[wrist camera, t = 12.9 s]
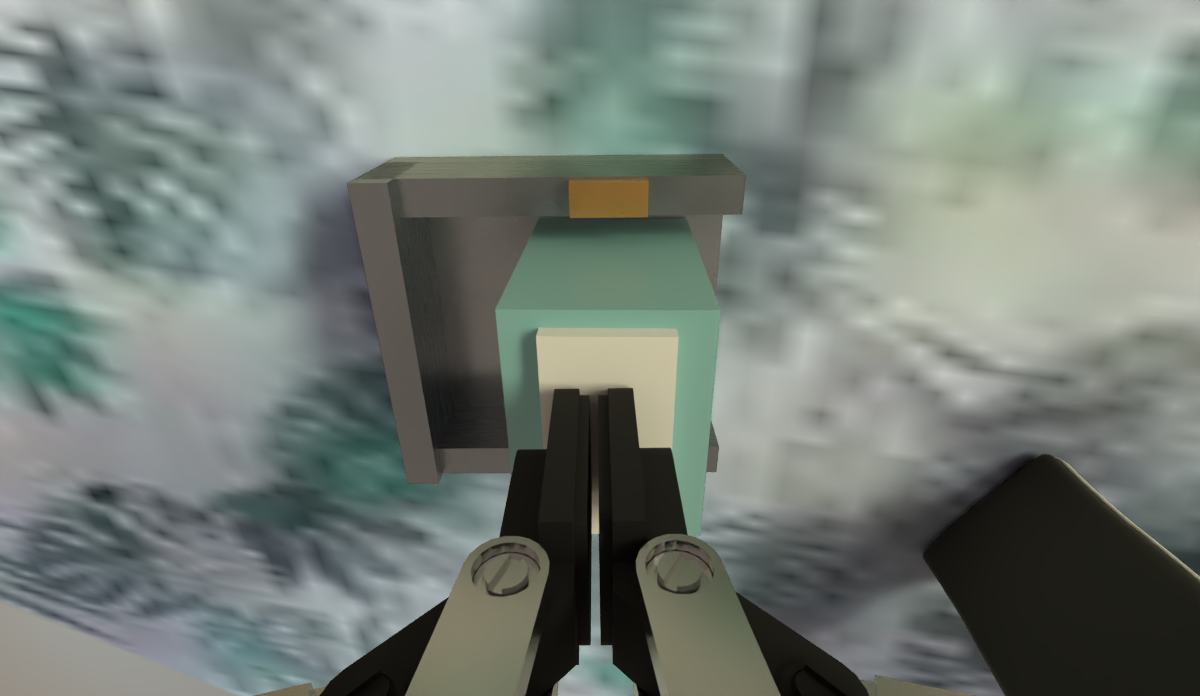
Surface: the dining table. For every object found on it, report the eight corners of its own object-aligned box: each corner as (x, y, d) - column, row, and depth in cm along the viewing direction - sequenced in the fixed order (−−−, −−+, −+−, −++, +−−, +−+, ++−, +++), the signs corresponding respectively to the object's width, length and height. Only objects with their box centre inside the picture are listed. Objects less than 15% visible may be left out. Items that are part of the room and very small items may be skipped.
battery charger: (971, 585, 26) (1203, 925, 16) (910, 552, 25) (1115, 890, 15) (1107, 482, 24) (1487, 811, 13) (1043, 440, 23) (1400, 760, 13)
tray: (722, 154, 18) (750, 179, 15) (701, 415, 22) (718, 481, 19) (395, 157, 18) (346, 183, 15) (437, 417, 22) (407, 483, 19)
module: (686, 218, 18) (724, 318, 11) (676, 387, 21) (702, 548, 14) (538, 218, 18) (491, 317, 11) (548, 387, 21) (514, 544, 14)
